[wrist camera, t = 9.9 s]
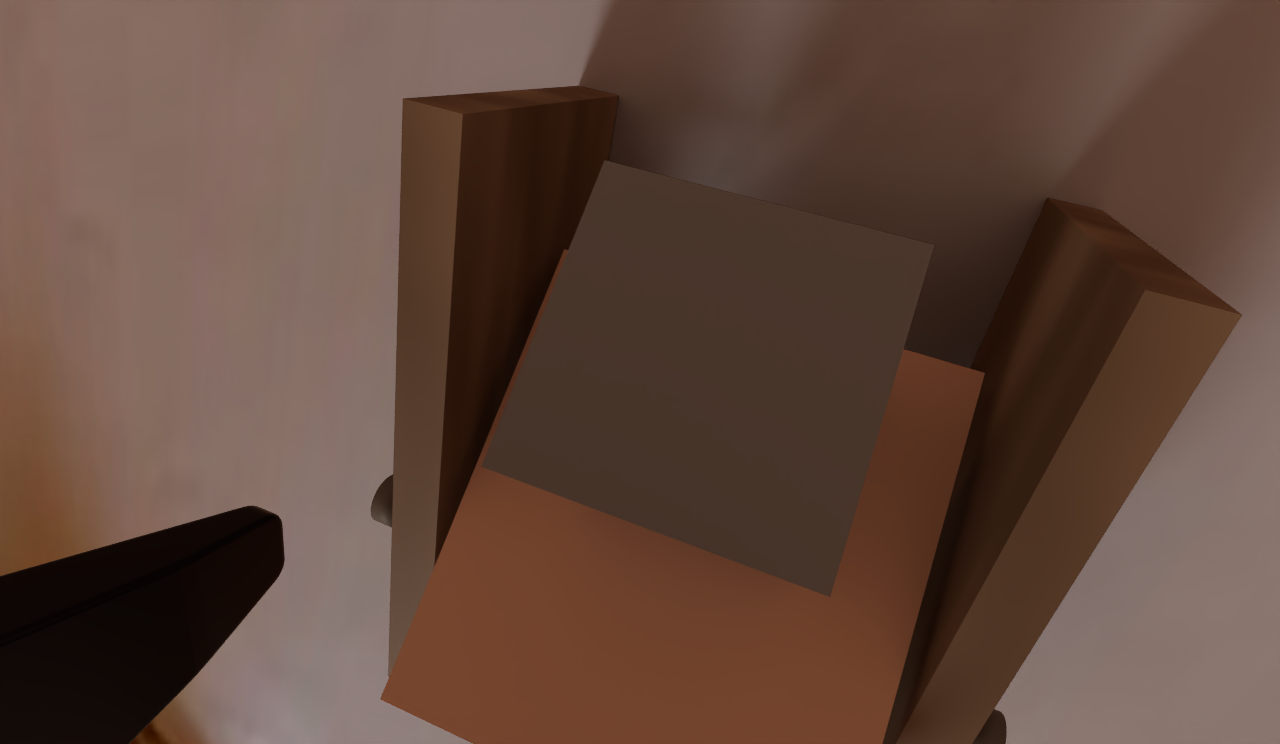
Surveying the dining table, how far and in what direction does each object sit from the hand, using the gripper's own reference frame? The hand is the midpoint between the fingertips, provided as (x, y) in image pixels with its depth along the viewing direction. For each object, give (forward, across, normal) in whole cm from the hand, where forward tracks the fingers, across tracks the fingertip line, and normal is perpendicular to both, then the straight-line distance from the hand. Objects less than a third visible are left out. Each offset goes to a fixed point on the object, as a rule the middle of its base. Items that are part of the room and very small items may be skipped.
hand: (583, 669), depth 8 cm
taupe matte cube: (+8, 0, +1) cm, 8 cm away
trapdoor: (+10, 0, +6) cm, 12 cm away
